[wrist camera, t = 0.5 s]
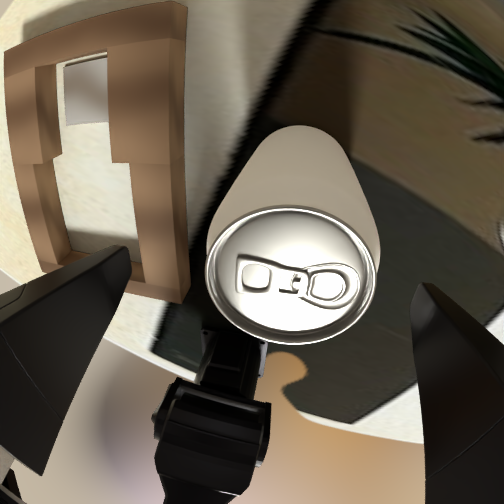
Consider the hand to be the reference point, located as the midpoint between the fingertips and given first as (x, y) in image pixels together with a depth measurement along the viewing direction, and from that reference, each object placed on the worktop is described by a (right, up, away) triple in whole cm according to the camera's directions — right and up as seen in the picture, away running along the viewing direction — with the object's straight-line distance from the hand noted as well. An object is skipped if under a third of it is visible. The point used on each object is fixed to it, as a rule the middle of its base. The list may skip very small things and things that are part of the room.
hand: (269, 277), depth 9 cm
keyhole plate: (-13, +8, +13) cm, 20 cm away
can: (+3, +6, +11) cm, 13 cm away
